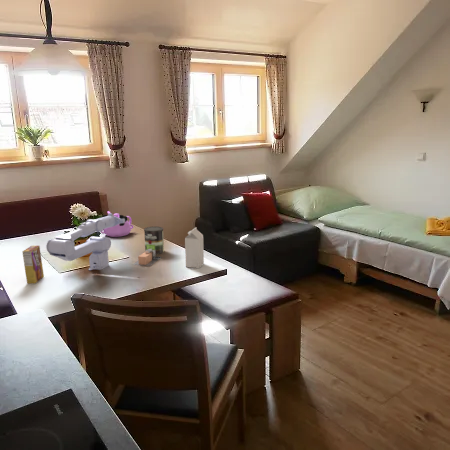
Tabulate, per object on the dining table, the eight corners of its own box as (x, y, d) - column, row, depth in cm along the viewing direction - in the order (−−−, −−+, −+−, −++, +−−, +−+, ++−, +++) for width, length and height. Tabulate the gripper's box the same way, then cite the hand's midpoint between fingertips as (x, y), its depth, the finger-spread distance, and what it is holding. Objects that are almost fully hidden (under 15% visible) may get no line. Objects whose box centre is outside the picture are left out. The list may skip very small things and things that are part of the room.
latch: (150, 261, 214) (150, 251, 213) (143, 260, 215) (143, 250, 214) (155, 257, 220) (155, 248, 218) (148, 257, 221) (148, 247, 219)
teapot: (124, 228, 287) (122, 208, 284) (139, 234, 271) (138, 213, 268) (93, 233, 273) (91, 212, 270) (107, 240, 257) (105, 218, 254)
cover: (146, 264, 209) (145, 257, 208) (138, 264, 210) (138, 256, 209) (151, 260, 215) (151, 253, 214) (144, 259, 216) (144, 252, 215)
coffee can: (159, 257, 224) (158, 231, 221) (141, 255, 227) (140, 230, 224) (167, 251, 234) (166, 227, 230) (150, 250, 237) (149, 225, 233)
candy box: (34, 276, 196) (31, 245, 192) (44, 276, 196) (40, 245, 192) (26, 283, 187) (21, 251, 184) (35, 283, 187) (31, 250, 184)
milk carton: (203, 264, 213) (203, 227, 208) (199, 268, 206) (198, 230, 201) (190, 262, 214) (189, 226, 210) (185, 267, 208) (184, 230, 203)
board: (149, 268, 207) (149, 265, 206) (132, 266, 209) (132, 263, 209) (162, 258, 221) (161, 256, 221) (145, 257, 223) (145, 254, 223)
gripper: (117, 214, 206) (131, 210, 219) (92, 214, 210) (107, 210, 223) (118, 228, 207) (132, 224, 220) (93, 228, 212) (108, 223, 224)
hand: (120, 218), depth 222 cm, fingers open, 7 cm apart
